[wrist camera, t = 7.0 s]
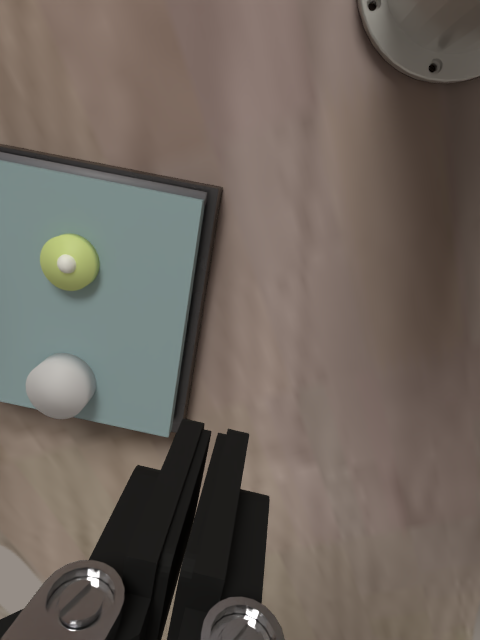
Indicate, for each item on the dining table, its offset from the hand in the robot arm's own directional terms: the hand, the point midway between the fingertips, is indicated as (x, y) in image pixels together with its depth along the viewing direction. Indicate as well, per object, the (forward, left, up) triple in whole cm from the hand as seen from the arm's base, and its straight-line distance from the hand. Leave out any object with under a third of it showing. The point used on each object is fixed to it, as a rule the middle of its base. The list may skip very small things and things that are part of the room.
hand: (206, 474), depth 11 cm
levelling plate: (+6, -14, -24) cm, 28 cm away
